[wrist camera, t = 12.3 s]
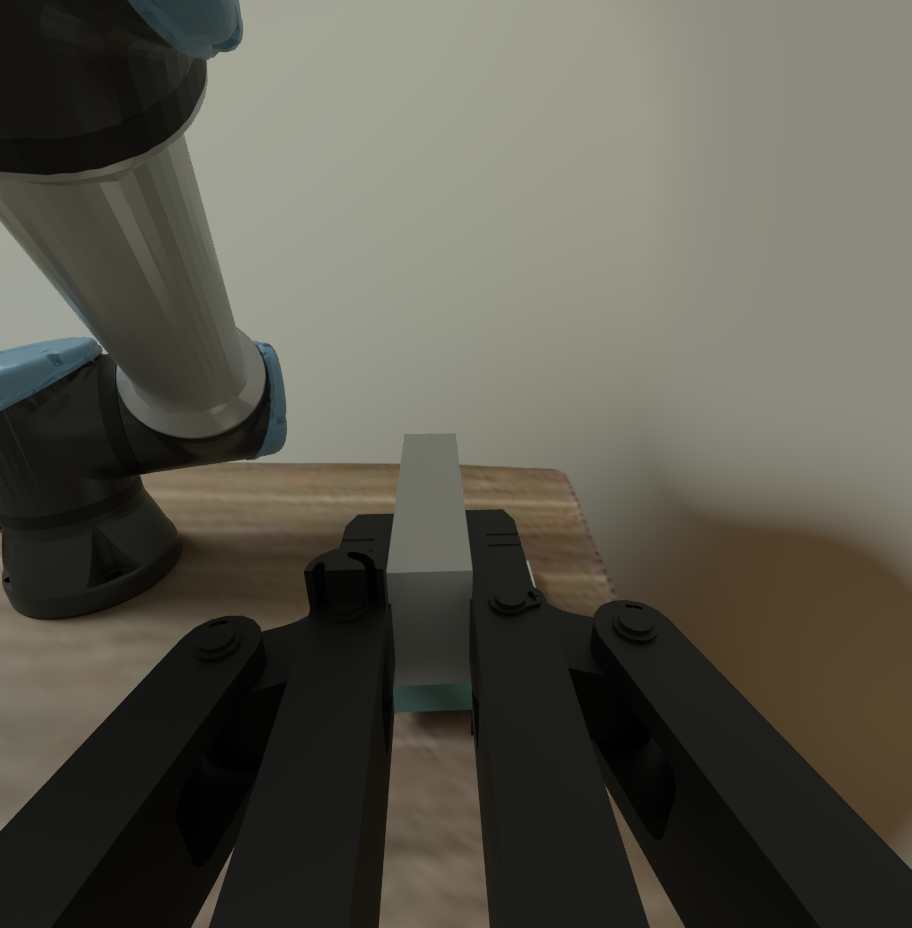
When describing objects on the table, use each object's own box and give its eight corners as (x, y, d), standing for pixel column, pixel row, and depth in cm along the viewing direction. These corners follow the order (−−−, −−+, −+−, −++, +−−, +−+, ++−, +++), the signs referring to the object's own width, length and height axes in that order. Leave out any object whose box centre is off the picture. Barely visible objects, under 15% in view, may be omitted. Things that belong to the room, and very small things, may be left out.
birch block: (382, 651, 32) (397, 531, 45) (387, 712, 35) (400, 583, 48) (503, 647, 33) (484, 529, 45) (499, 708, 35) (482, 581, 48)
